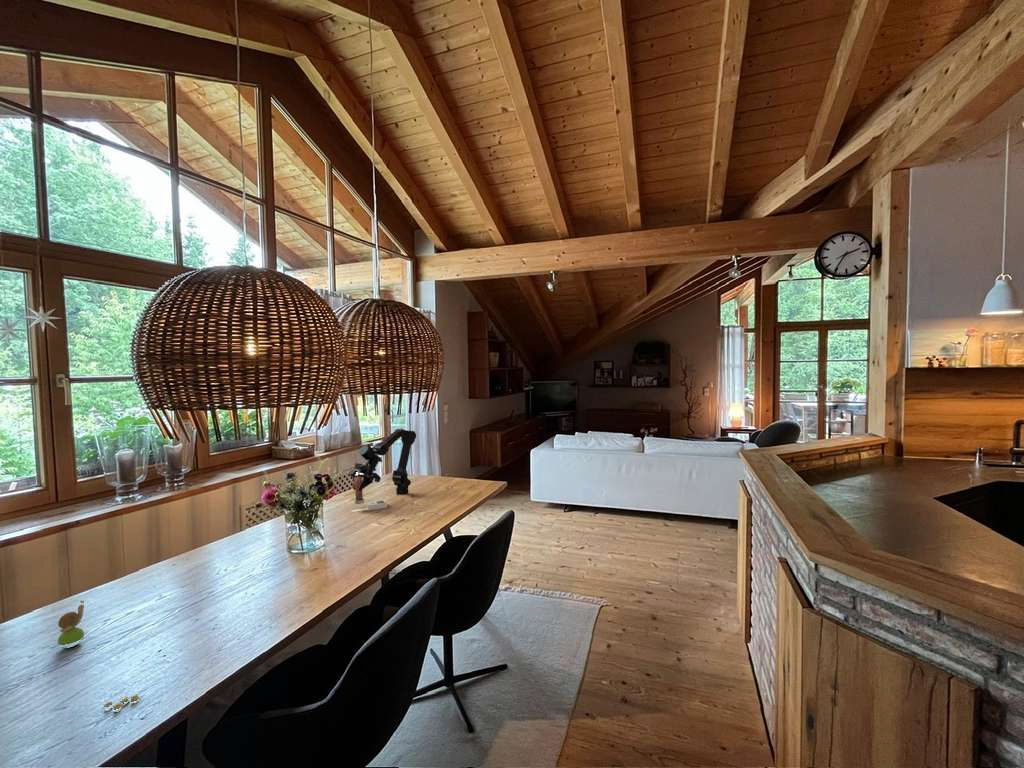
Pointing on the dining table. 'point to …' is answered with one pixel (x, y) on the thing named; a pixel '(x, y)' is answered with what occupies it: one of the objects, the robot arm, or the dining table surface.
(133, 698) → the dice set
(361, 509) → the subfloor panel
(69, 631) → the snail figurine
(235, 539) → the dining table surface
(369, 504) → the block
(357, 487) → the joystick
